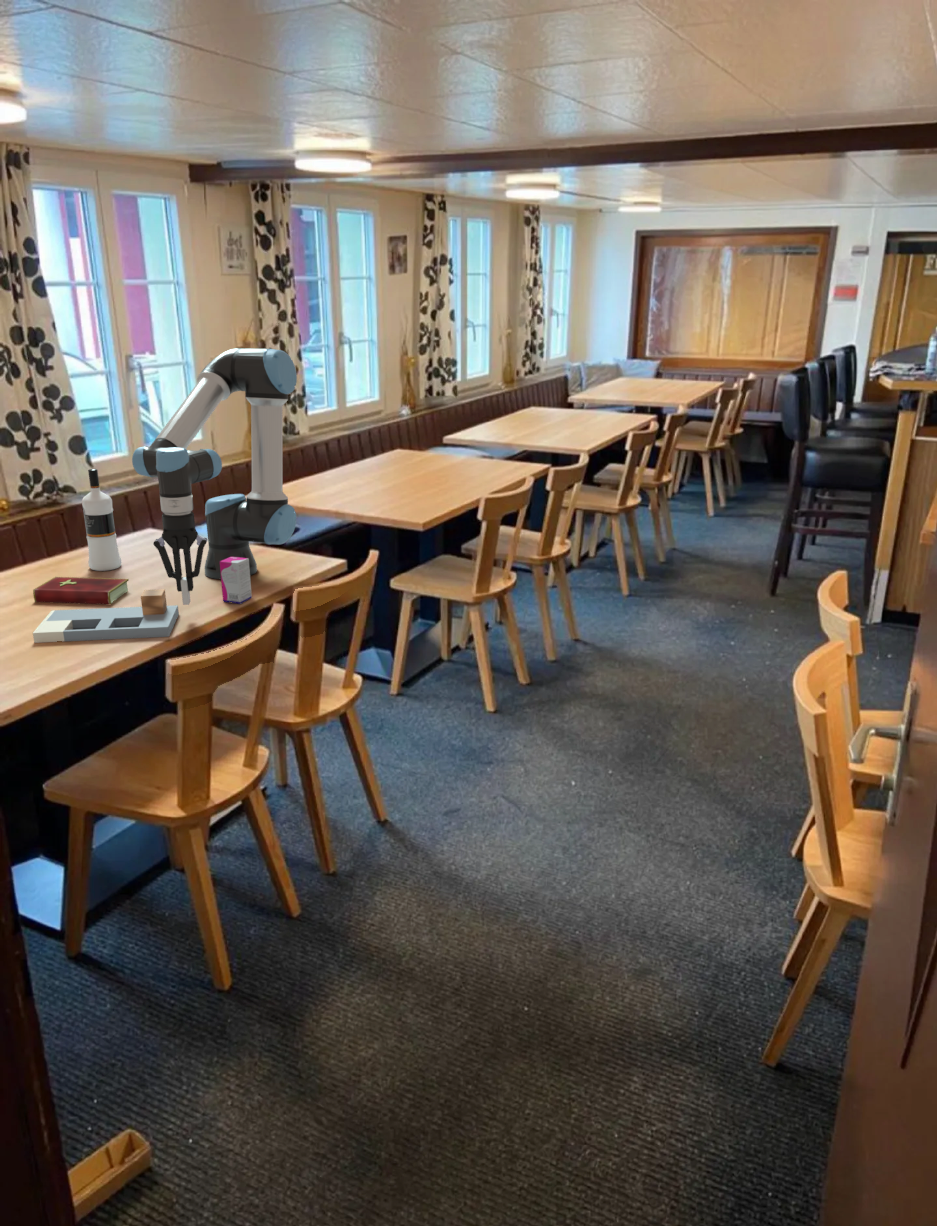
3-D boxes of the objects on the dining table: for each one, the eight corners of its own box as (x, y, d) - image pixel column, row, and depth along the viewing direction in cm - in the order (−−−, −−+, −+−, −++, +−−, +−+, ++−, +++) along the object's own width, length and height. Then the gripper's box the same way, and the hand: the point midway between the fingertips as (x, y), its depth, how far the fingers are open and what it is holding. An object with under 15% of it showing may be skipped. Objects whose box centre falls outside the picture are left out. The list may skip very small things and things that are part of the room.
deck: (178, 614, 227) (177, 605, 226) (169, 636, 212) (167, 626, 211) (53, 619, 222) (51, 610, 221) (34, 642, 207) (32, 632, 206)
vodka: (119, 570, 262) (106, 471, 252) (86, 572, 260) (72, 472, 250) (123, 562, 271) (111, 465, 260) (91, 563, 269) (78, 466, 258)
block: (166, 607, 224) (164, 589, 223) (163, 614, 220) (161, 595, 218) (146, 608, 224) (144, 589, 222) (142, 615, 219) (140, 596, 217)
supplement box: (252, 597, 240) (249, 557, 236) (240, 604, 235) (237, 563, 231) (234, 595, 242) (231, 555, 238) (222, 602, 237) (218, 561, 233)
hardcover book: (110, 606, 234) (108, 591, 232) (34, 603, 235) (32, 588, 233) (130, 592, 245) (128, 578, 243) (57, 589, 246) (55, 575, 245)
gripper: (147, 516, 210) (157, 608, 218) (203, 514, 212) (211, 606, 220) (152, 509, 217) (162, 599, 225) (206, 508, 219) (214, 597, 227)
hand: (186, 602), depth 222 cm, fingers closed
